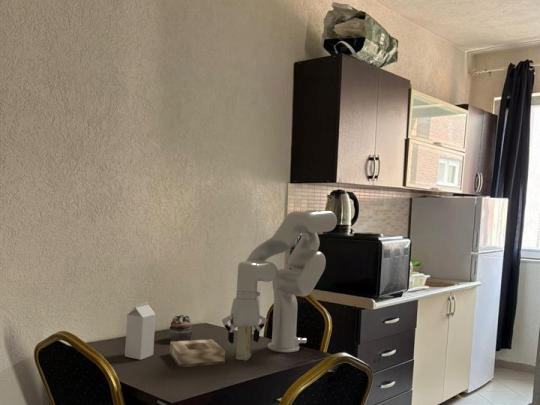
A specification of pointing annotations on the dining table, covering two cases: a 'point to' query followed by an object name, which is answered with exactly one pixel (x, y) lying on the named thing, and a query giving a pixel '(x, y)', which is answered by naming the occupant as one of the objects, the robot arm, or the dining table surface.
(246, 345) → the skincare box
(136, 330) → the milk carton
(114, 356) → the dining table surface
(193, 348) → the socket block
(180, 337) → the cupcake
